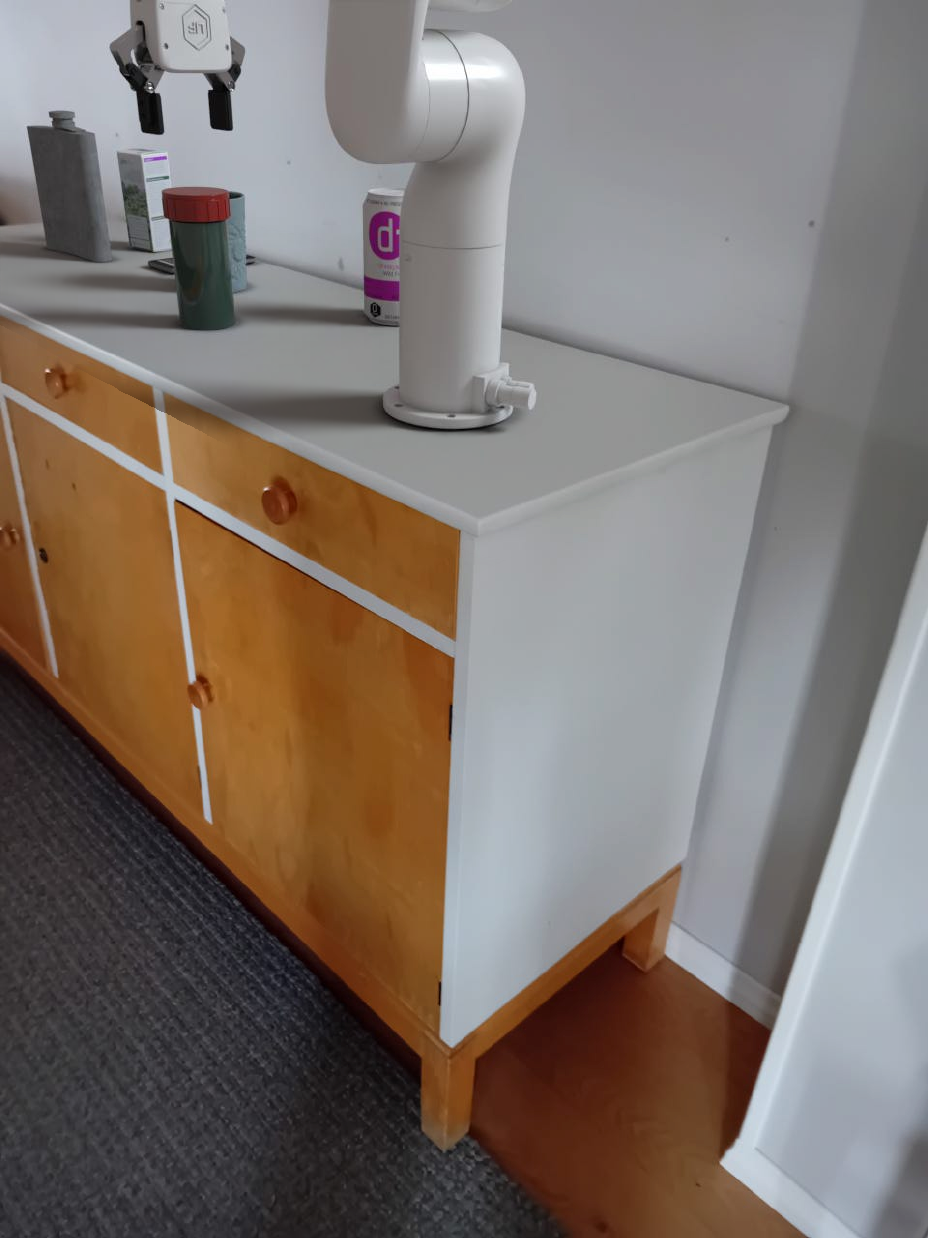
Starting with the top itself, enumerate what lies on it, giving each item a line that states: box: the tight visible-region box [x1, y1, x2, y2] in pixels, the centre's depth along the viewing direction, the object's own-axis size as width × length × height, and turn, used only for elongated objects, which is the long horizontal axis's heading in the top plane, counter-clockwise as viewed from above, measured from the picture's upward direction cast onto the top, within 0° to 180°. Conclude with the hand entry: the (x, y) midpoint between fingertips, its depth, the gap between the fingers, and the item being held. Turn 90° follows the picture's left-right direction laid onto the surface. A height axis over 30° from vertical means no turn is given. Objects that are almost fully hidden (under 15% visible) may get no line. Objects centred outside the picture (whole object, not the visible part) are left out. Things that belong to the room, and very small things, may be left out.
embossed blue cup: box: [227, 190, 248, 293], centre depth 135 cm, size 10×10×12 cm
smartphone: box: [147, 254, 257, 274], centre depth 151 cm, size 7×1×15 cm
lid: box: [162, 186, 231, 222], centre depth 115 cm, size 8×8×3 cm
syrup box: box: [116, 148, 173, 253], centre depth 158 cm, size 6×6×14 cm
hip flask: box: [26, 110, 113, 263], centre depth 151 cm, size 16×4×20 cm, turn 49°
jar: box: [169, 219, 236, 331], centre depth 118 cm, size 7×7×14 cm
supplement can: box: [362, 187, 406, 327], centre depth 123 cm, size 8×8×15 cm
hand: (188, 131), depth 111 cm, fingers open, 9 cm apart
